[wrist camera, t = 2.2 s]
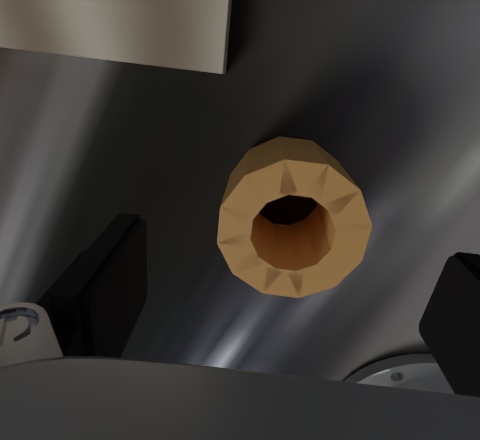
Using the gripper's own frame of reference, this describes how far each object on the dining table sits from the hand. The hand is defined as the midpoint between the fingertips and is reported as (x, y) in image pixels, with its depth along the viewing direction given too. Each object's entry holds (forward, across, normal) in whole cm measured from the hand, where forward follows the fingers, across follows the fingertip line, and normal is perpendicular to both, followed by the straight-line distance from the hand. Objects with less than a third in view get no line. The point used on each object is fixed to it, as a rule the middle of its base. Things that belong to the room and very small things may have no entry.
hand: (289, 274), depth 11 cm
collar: (+9, -1, +1) cm, 9 cm away
